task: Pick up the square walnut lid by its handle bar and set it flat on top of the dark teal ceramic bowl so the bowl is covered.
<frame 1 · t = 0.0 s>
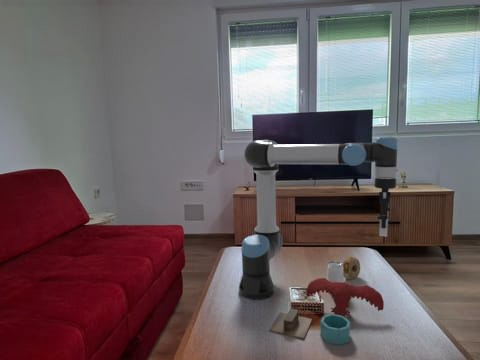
hand: (383, 231, 125), 28 cm above the table, tool pointing down, fingers open, 13 cm apart
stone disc: (351, 278, 148), on the table
walnut lid: (291, 327, 112), on the table
decorative bird sculpture: (342, 312, 120), on the table
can: (335, 291, 137), on the table
teal bowl: (335, 335, 106), on the table
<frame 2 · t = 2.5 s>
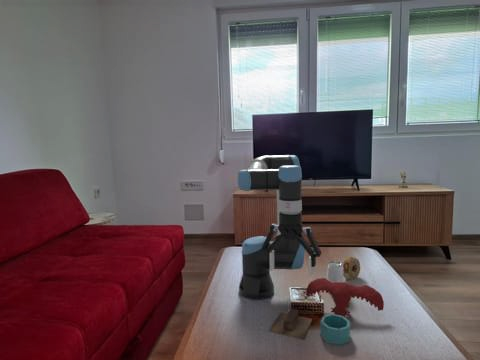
hand: (290, 272, 109), 20 cm above the table, tool pointing down, fingers open, 13 cm apart
nothing on the table moved.
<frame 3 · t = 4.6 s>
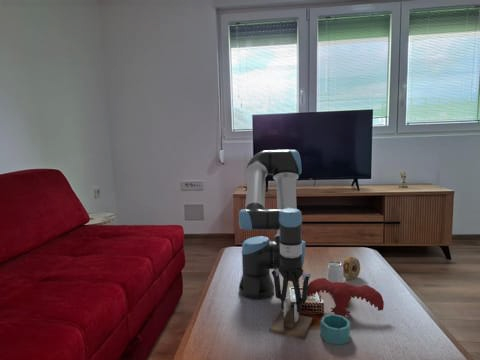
hand: (291, 318, 112), 3 cm above the table, tool pointing down, fingers closed on walnut lid, 3 cm apart
walnut lid: (291, 326, 112), on the table, touching gripper
everything else where it was.
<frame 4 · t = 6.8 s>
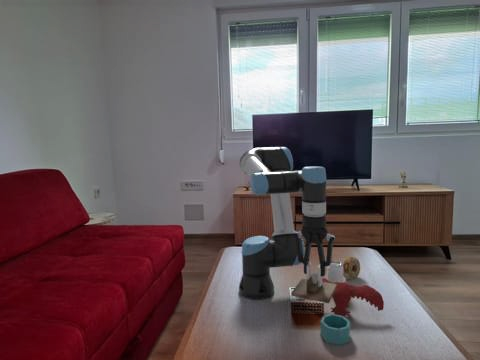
hand: (314, 284, 106), 17 cm above the table, tool pointing down, fingers closed on walnut lid, 3 cm apart
walnut lid: (314, 291, 106), point 15 cm above the table, touching gripper
everything else where it was.
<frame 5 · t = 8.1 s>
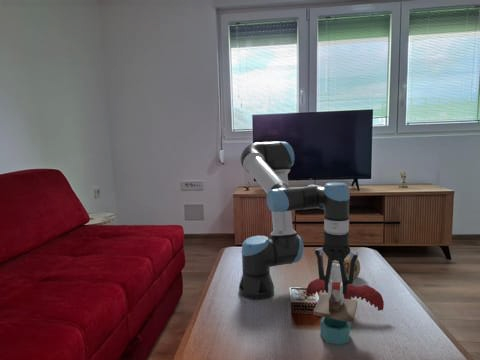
hand: (335, 301, 104), 12 cm above the table, tool pointing down, fingers closed on walnut lid, 3 cm apart
walnut lid: (335, 309, 104), point 9 cm above the table, touching gripper
everything else where it was.
when the fingers open (9 cm above the table, at t = 9.2 s): walnut lid drops 1 cm, resting on teal bowl.
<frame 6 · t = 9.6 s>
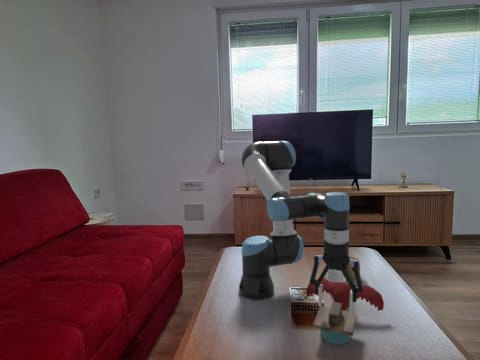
hand: (335, 307, 104), 10 cm above the table, tool pointing down, fingers open, 9 cm apart
walnut lid: (335, 321, 105), point 5 cm above the table, touching teal bowl
everything else where it was.
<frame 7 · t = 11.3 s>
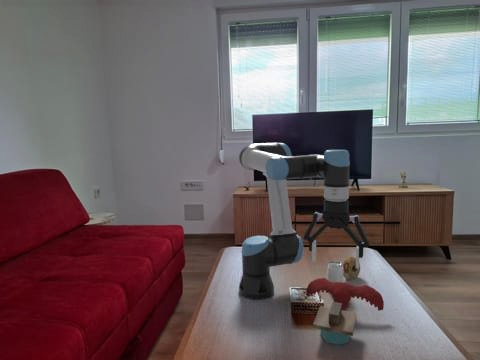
hand: (335, 263, 103), 25 cm above the table, tool pointing down, fingers open, 13 cm apart
nothing on the table moved.
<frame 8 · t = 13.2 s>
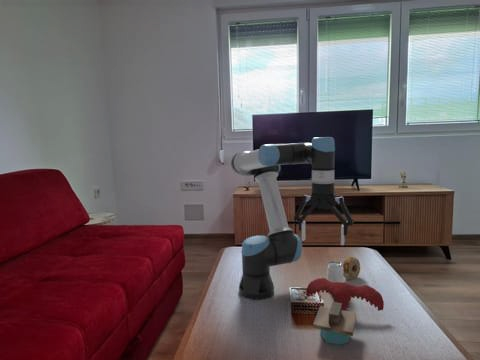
hand: (322, 241, 113), 29 cm above the table, tool pointing down, fingers open, 13 cm apart
nothing on the table moved.
at the end: walnut lid 0.0 cm off-centre on the teal bowl, point 5.0 cm above the teal bowl's base; walnut lid tilted 0°; the gripper is holding nothing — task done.
